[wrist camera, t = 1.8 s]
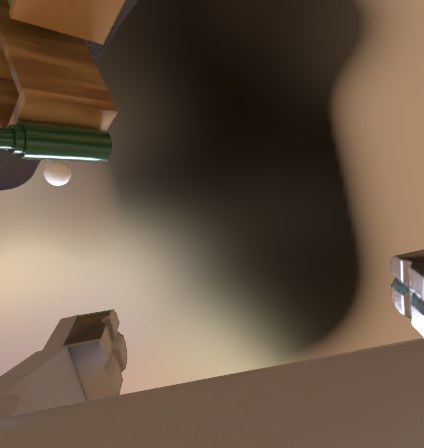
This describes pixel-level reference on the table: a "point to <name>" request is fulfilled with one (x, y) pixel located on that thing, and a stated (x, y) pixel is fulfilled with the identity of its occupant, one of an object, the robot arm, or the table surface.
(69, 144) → the bottle
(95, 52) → the table surface
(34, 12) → the block
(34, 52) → the shelf
